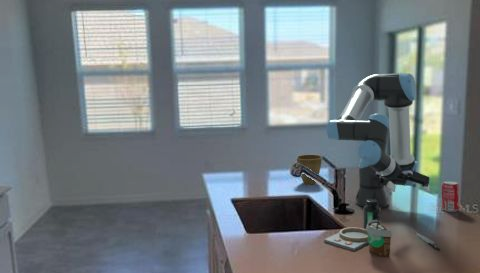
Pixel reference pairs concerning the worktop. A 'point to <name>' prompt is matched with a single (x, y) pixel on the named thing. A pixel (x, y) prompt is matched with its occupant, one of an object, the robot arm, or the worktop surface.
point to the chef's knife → (428, 241)
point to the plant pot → (310, 166)
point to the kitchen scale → (349, 238)
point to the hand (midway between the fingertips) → (411, 188)
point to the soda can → (450, 196)
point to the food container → (378, 239)
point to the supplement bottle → (371, 212)
